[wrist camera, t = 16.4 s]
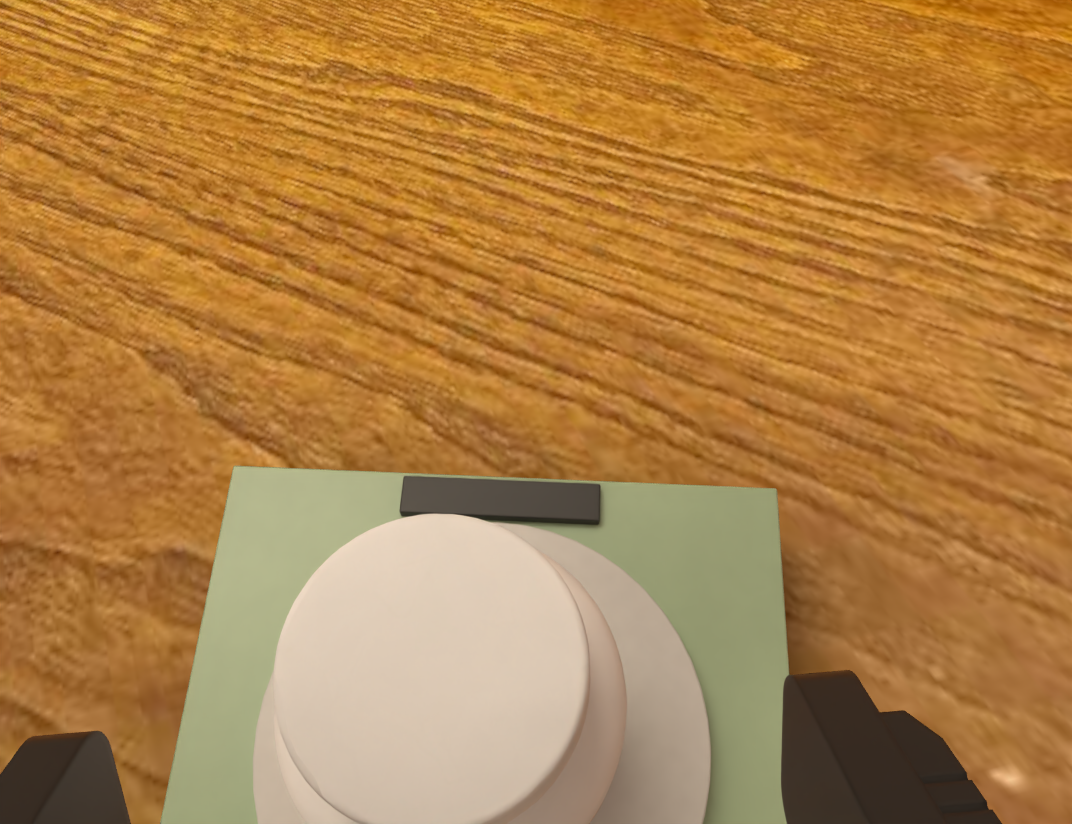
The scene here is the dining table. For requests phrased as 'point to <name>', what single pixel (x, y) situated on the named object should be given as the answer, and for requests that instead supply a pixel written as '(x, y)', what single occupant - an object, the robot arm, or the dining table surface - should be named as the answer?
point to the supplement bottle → (446, 683)
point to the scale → (587, 554)
